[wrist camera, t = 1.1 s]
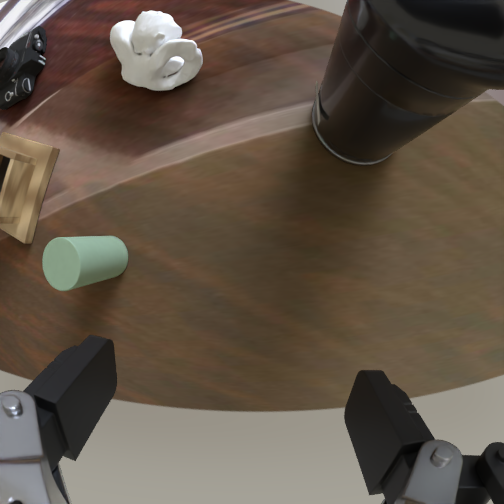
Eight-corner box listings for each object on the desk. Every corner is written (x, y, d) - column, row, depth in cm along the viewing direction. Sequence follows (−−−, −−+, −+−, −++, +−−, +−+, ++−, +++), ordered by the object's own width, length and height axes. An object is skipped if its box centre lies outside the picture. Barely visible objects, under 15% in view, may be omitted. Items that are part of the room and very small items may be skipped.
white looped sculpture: (112, 47, 30) (122, -9, 23) (200, 67, 34) (223, 13, 26) (83, 87, 26) (87, 23, 19) (185, 109, 30) (209, 47, 23)
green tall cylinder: (100, 230, 31) (48, 230, 22) (133, 244, 31) (86, 248, 22) (89, 267, 31) (38, 278, 22) (121, 283, 31) (74, 300, 22)
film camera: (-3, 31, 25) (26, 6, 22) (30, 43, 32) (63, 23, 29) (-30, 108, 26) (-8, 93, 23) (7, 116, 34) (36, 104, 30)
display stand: (9, 134, 31) (-17, 125, 26) (60, 149, 31) (31, 139, 25) (-15, 214, 32) (-41, 213, 27) (32, 243, 32) (2, 245, 26)
